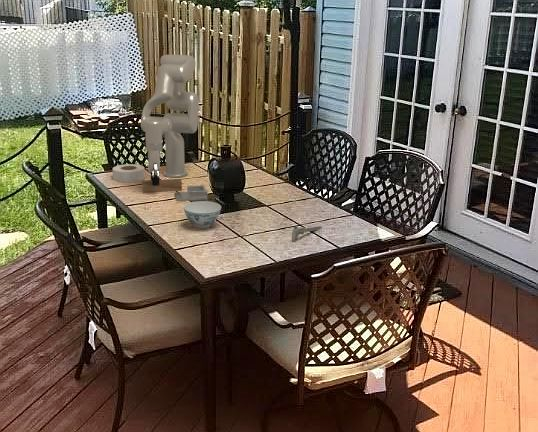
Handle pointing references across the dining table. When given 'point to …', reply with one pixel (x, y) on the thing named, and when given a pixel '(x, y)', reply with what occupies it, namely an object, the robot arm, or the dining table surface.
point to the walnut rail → (162, 186)
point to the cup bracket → (192, 193)
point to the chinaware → (202, 213)
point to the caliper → (302, 231)
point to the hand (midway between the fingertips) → (155, 182)
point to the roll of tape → (128, 173)
